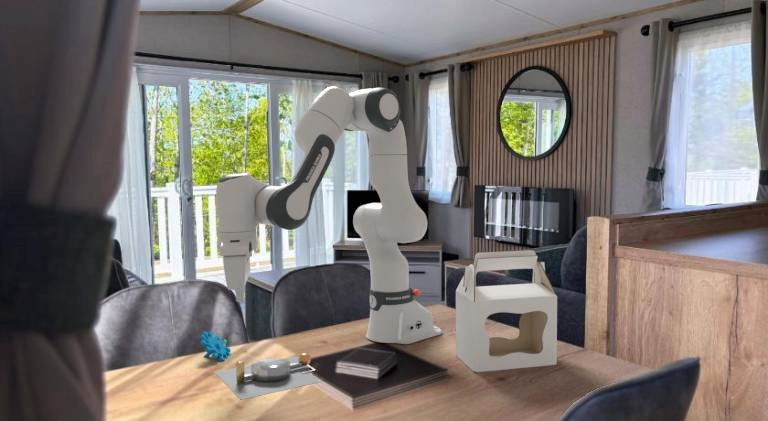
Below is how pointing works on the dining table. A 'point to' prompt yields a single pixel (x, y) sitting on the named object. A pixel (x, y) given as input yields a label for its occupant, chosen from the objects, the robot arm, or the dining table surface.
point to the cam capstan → (270, 369)
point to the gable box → (524, 299)
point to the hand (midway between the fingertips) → (240, 300)
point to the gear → (214, 346)
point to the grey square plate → (262, 387)
